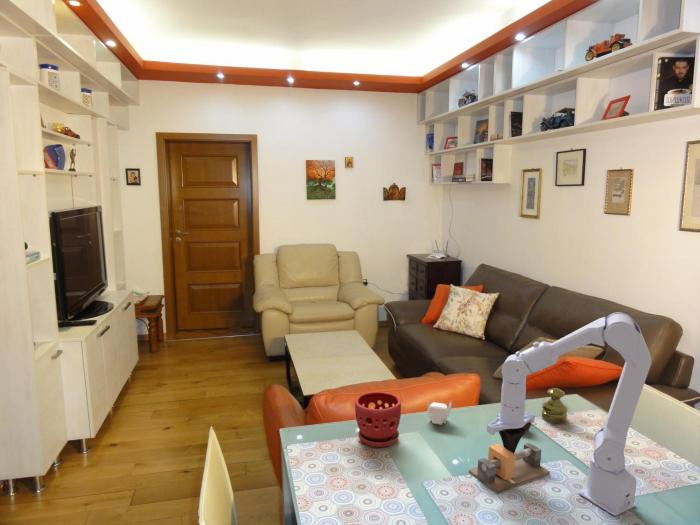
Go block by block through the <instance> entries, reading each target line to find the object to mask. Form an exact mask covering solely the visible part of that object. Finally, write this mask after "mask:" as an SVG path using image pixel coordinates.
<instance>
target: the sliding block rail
mask: <svg viewBox="0 0 700 525" xmlns="http://www.w3.org/2000/svg"><path fill="white" fill-rule="evenodd" d="M514 454H515V455H516V456H515V469H514V477H512V478H510V479H507V480H504V479H503V478H501V477H500V476H498V475H497V474H496V473H495V472H496V467H499V466H501V460H499V459H495V460H492V461H488V458H485V457H482V458H479V459H478V460H477V466H476V467H473V468H471V469H468V473H469V474H471V476H474V477H475V478H476V479H477V480H479V482H482V483H483V484H484V485H485V486H487V487H488V488H490V489H491V490H492V491H494V492H495V494H500V493H503V492H505V491H508V490H510V489H513V488H516V487H518V486H521V485H522V484H526V483H528V482H531V481H533V480H536V479H539V478H542V477H544V476H546V475H549V474H550V473H551V472H550V471H549V470H548V469H547V468H546V467H544V466H542V465H541V460H542V458H541V457H542V449H541V448H539V447H537V446H536V445H534V444H532V443H531V442H528V443H527V442H526V443H524V444H523V449H522V450H519V451H515V453H514Z"/></svg>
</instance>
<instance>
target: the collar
mask: <svg viewBox="0 0 700 525" xmlns="http://www.w3.org/2000/svg"><path fill="white" fill-rule="evenodd" d="M515 456H516V455H515V454H514V453H512V452H511V451H509V450H507V449H506V448H504V447H503V445H502V444H499V443H495V444H492V445H489V446H488V456H487V457H488V458H487V460H488V461H492V460H495V459H499V460H501V466H499V467H496V472H495V473H496V474H497V475H498V476H500V477H501V478H503V479H504V480H507V479H510V478H512V477H514V469H515Z"/></svg>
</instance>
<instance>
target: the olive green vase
mask: <svg viewBox="0 0 700 525" xmlns="http://www.w3.org/2000/svg"><path fill="white" fill-rule="evenodd" d="M547 394H548V395H549V396H550V398H549V399H547V400H545V401H544V402H542V404H541V407H542V409H541V418H542V419H543V420H544V421H545V422H547V423H549V424H550V423H551V424H554V425H562V424H563V425H564V424H565V423H566V422H567V419H568V418H567V417H568V410H569V408H568V405H566V404H565V403H564V402H563V401H562V400H561V398H563V397H565V395H566V394H565V391H563V390H562V389H560V388H558V387H552V388H549V389H548V390H547Z"/></svg>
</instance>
